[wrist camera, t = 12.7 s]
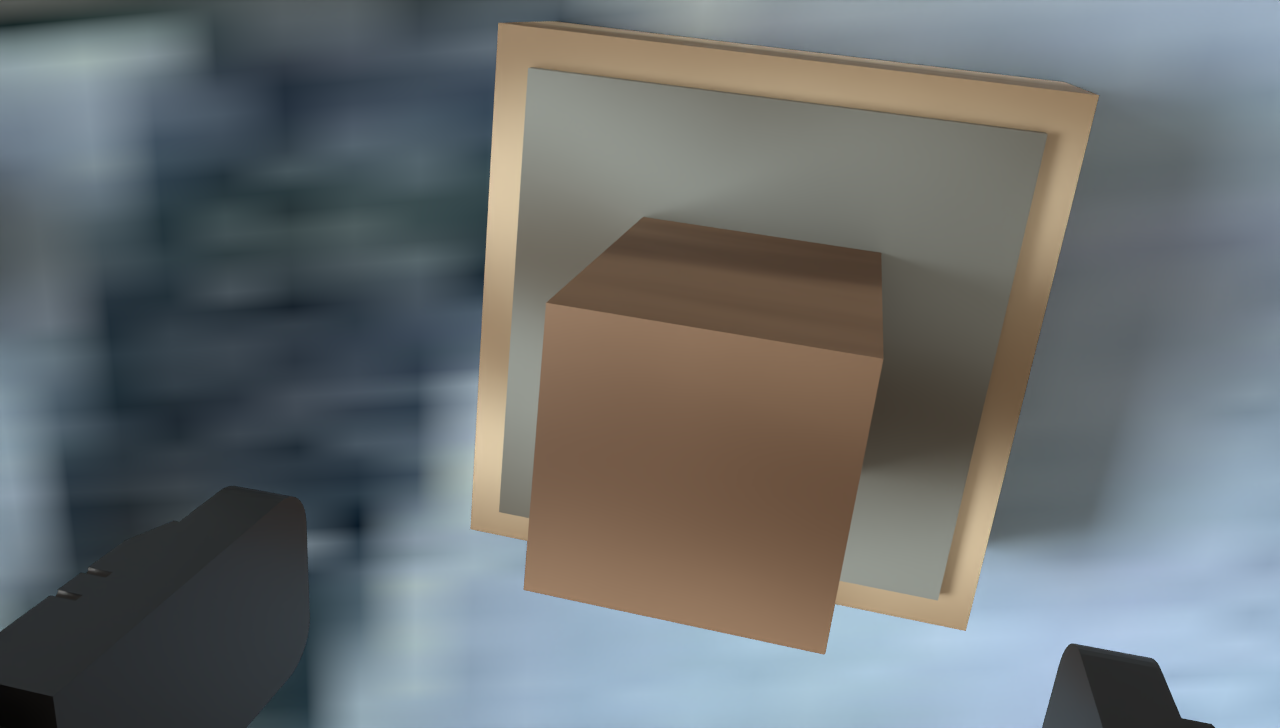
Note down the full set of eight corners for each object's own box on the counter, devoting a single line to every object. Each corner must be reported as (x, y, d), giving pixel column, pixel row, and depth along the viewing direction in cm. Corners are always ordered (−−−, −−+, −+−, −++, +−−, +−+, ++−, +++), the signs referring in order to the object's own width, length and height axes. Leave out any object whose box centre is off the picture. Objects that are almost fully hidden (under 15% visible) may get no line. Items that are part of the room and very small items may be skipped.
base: (553, 21, 25) (493, 23, 21) (1063, 81, 23) (1102, 96, 19) (521, 464, 30) (465, 534, 26) (953, 547, 28) (966, 638, 24)
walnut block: (642, 216, 22) (546, 302, 16) (881, 252, 21) (883, 359, 15) (619, 431, 24) (523, 589, 17) (839, 472, 23) (825, 654, 16)
